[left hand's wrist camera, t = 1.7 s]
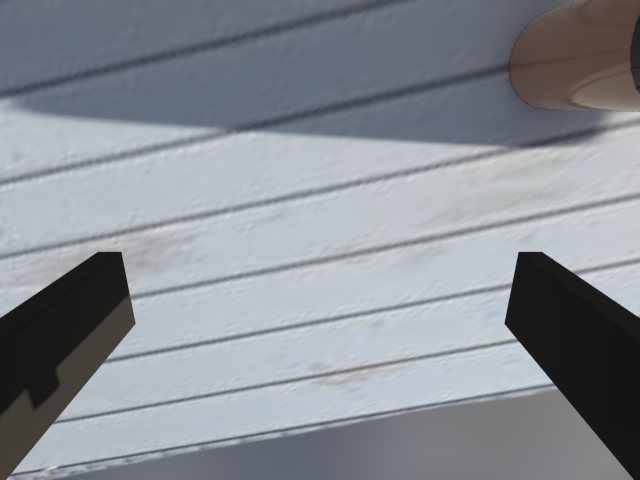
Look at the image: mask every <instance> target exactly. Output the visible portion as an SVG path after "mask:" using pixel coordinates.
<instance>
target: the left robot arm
mask: <svg viewBox="0 0 640 480" xmlns="http://www.w3.org/2000/svg"><path fill="white" fill-rule="evenodd" d="M134 325H135V319H134V313H133V308H132V303H131V298H130V293H129V288H128V283H127V278H126V273H125V268H124V263H123V258H122V253H121V252H97V253H96V254H94V255H93V256H91V257H90V258H88V259H87V260H85V261H84V262H82V263H81V264H80V265H78V266H77V267H75V268H74V269H72V270H71V271H69V272H68V273H66V274H65V275H63V276H62V277H60V278H59V279H57V280H56V281H54V282H53V283H51V284H50V285H49V286H47V287H46V288H44V289H43V290H41V291H40V292H38V293H37V294H35V295H34V296H32V297H31V298H29V299H28V300H26V301H25V302H23V303H22V304H20V305H19V306H18V307H16V308H15V309H13V310H12V311H10V312H9V313H7V314H6V315H4V316H3V317H1V318H0V480H6V479H7V478H8V477H9V476H10V474H11V473H12V472H13V471H14V470H15V468H16V467H17V466H18V465H19V463H20V462H21V461H22V460H23V459H24V457H25V456H26V455H27V454H28V453H29V451H30V450H31V449H32V448H33V447H34V445H35V444H36V443H37V442H38V441H39V439H40V438H41V437H42V436H43V435H44V433H45V432H46V431H47V430H48V429H49V427H50V426H51V425H52V424H53V423H54V421H55V420H56V419H57V418H58V417H59V415H60V414H61V413H62V412H63V411H64V409H65V408H66V407H67V406H68V404H69V403H70V402H71V401H72V400H73V398H74V397H75V396H76V395H77V394H78V392H79V391H80V390H81V389H82V388H83V386H84V385H85V384H86V383H87V382H88V380H89V379H90V378H91V377H92V376H93V374H94V373H95V372H96V371H97V370H98V368H99V367H100V366H101V365H102V364H103V362H104V361H105V360H106V359H107V358H108V356H109V355H110V354H111V353H112V351H113V350H114V349H115V348H116V347H117V345H118V344H119V343H120V342H121V341H122V339H123V338H124V337H125V336H126V335H127V333H128V332H129V331H130V330H131V329H132V327H133V326H134ZM505 325H506V326H507V327H508V329H509V330H510V331H511V332H512V333H513V335H514V336H515V337H516V338H517V339H518V341H519V342H520V343H521V344H522V345H523V347H524V348H525V349H526V350H527V351H528V353H529V354H530V355H531V356H532V358H533V359H534V360H535V361H536V362H537V364H538V365H539V366H540V367H541V368H542V370H543V371H544V372H545V373H546V374H547V376H548V377H549V378H550V379H551V380H552V382H553V383H554V384H555V385H556V386H557V388H558V389H559V390H560V391H561V392H562V394H563V395H564V396H565V397H566V398H567V400H568V401H569V402H570V403H571V404H572V406H573V407H574V408H575V409H576V411H577V412H578V413H579V414H580V415H581V417H582V418H583V419H584V420H585V421H586V423H587V424H588V425H589V426H590V427H591V429H592V430H593V431H594V432H595V433H596V435H597V436H598V437H599V438H600V439H601V441H602V442H603V443H604V444H605V445H606V447H607V448H608V449H609V450H610V451H611V453H612V454H613V455H614V456H615V457H616V459H617V460H618V461H619V462H620V463H621V465H622V466H623V467H624V468H625V470H626V471H627V472H628V473H629V474H630V476H631V477H632V478H633V479H634V480H640V318H639V317H637V316H636V315H634V314H633V313H631V312H630V311H628V310H627V309H625V308H624V307H622V306H621V305H620V304H618V303H617V302H615V301H614V300H612V299H611V298H609V297H608V296H606V295H605V294H603V293H602V292H600V291H599V290H597V289H596V288H594V287H593V286H591V285H590V284H589V283H587V282H586V281H584V280H583V279H581V278H580V277H578V276H577V275H575V274H574V273H572V272H571V271H569V270H568V269H566V268H565V267H563V266H562V265H560V264H559V263H558V262H556V261H555V260H553V259H552V258H550V257H549V256H547V255H546V254H544V253H543V252H519V253H518V258H517V263H516V268H515V273H514V278H513V283H512V288H511V293H510V298H509V303H508V308H507V313H506V319H505Z"/></svg>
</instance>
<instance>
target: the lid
mask: <svg viewBox="0 0 640 480" xmlns="http://www.w3.org/2000/svg"><path fill="white" fill-rule="evenodd" d="M635 23H636V25H635V28H634V32H633V36H632V42H631V46H630V48H631V49H630V65H631V68H630V70H631V73H632V77H633V81H634V84H635V86H636V88H635V89H636V90H637V91H638V93H639V94H640V14H639V17H638V19H637V21H636V22H635Z"/></svg>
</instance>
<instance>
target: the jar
mask: <svg viewBox="0 0 640 480" xmlns="http://www.w3.org/2000/svg"><path fill="white" fill-rule="evenodd" d="M639 14H640V0H575V1H572V2H570V3H567V4H565V5H562V6H560V7H557V8H555V9H552V10H550V11H548V12H545V13H543V14H542V15H540V16H538V17H537V18H536V19H534V20H533V21H532V22H531V23H530V24H529V25H528V26H527V27H526V28H525V29H524V30H523V32H522V33H521V34H520V36H519V37H518V39H517V41H516V43H515V45H514V48H513V50H512V54H511V58H510V67H509V72H510V79H511V83H512V86H513V88H514V90H515V92H516V93H517V95H518V96H519V97H520V98H521V99H522V100H523V101H524V102H526V103H527V104H529V105H531V106H533V107H537V108H542V109H568V110H599V111H630V112H640V94H639V93H638V91H637V90H636V89H635V88H636V86H635V84H634V81H633V77H632V73H631V70H630V68H631V65H630V49H631V48H630V46H631V42H632V36H633V32H634V28H635V25H636V23H635V22H636V21H637V19H638V17H639Z"/></svg>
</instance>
